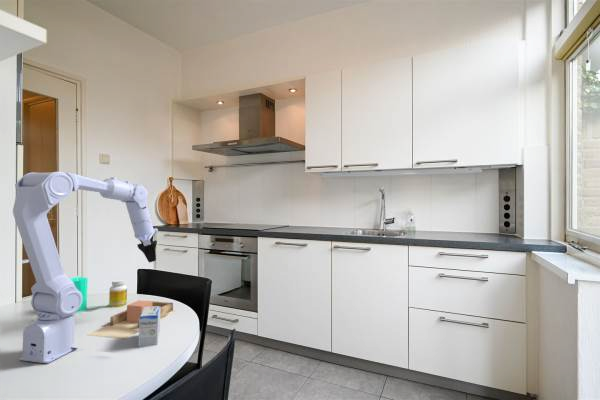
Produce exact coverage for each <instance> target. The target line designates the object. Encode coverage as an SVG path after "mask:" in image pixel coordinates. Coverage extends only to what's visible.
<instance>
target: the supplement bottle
mask: <svg viewBox="0 0 600 400" xmlns="http://www.w3.org/2000/svg"><path fill="white" fill-rule="evenodd" d="M111 285H112V286H111V287H109V295H108V298H109V299H108V306H109V308H120V307H125V306H127V299H128V297H127V296H128V295H127V294H128V287H127V285H126V279H125V278H119V279H113V280H112V281H111Z"/></svg>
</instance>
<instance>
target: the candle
mask: <svg viewBox="0 0 600 400" xmlns="http://www.w3.org/2000/svg"><path fill="white" fill-rule="evenodd" d="M69 279H70V280H72V281H73V282H74V284H75V287H76V289H77V290H79V291H80V292H81V294H82V296H83V301H82V304H81V306H80V308H79V309H78V310H77V311H76V313H78V312H79V313H80V312H82V311H85V310H87V307H88V306H87V305H88V277H83V276H78V274H76V277H71V278H69Z"/></svg>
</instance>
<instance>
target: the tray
mask: <svg viewBox="0 0 600 400" xmlns="http://www.w3.org/2000/svg"><path fill="white" fill-rule="evenodd" d="M151 301H152V300H151ZM152 306H160V307H161V312H160V320H162V319H163V318H164V319H165V318H166V317H167V316H169V315H171V314H173V313H174V312H175V309H174V303H173V302H169V301H168V302H165V301H154V300H153V301H152ZM126 321H127V309H125V310H123V311H120V312H118V313H116V314H113V315H112V316H110V323H109V324H107V325H104V326H103V327H100V328H99V329H96V330H94V331H92V332H90V333H87V336H92V337H93V336H94V337H104V338H112V339H121V340H123V339H124V340H127V339H129V338H131V337H132V336H134V335H135V334H139V319H138V323H133V322H126Z"/></svg>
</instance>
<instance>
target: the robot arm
mask: <svg viewBox="0 0 600 400" xmlns="http://www.w3.org/2000/svg"><path fill="white" fill-rule="evenodd" d="M14 187H15V190H16V195H15V199H14V204H13V208H12V214H13V217H14V221H15V223H16V226H17V229H18V232H19V235H20V238H21V240H22V244H23V246H24V250H25V252H26V255H27V258H28V261H29V264H30V267H31V270H32V274H33V275H34V278H35V283H34V285H32V286H31V288H30V290H31V293H32V295H31V299H30V304H31V307H32V309H33V310H34V311H36V316H37V319H36V320H35V321H34V322H32V323H30V324H29V325H27V326H26V327H25V329H24V330H23V334H22V353H21V355H22V356H20V357H19V361H25V362H32V363H33V362H34V363H39V364H40V363H41V364H42V363H43V364H49V363H51V362H53V361H56V360H57V359H60V358H62V357H63V356H65V355H68V354H69V353H71V352H73V351H75V350H77V349H78V347H73V346H74V344H75V320H76V319H75V317H76V314H77V312H76V311H77V310H78V309H79V308H80V306H81V304H82V301H83V296H82V294H81V292H80V291H79V290H77V289H76V287H75V284H74V282H73V281H72V280H70V278H69V277H68V276H67V275H66V274H65V270H64V268H63V264H62V261H61V258H60V254H59V252H58V247H57V246H56V242H55V239H54V235H53V232H52V230H51V225H50V222H49V220H48V216H47V214H48V213H49V212H50V211H51V209H52V208H53V207H55V206H56V205H57V204H59V203H60V202H62V201H63V200H64V199H66V198H67V197H68V196H70V195H71V193H72V192H77V190H81V191H87V192H88V191H89V192H95V193H99V194H100V196H101V197H102V198H105V199H110V200H116V201H120V202H122V203H125V206H126V209H127V212H128V216H129V219H130V222H131V226H132V229H133V233H134V235H133V236H134V237H135V239H137V240H138V241H140V243H138V244H137V248H138V250H140V251H141V252H142V253H143V255H144V256H145V258H146V260H147V262H148V263H153V262H156V260H157V254H156V248H157V245H158V241H157V240H154V236H155V233H157V232H159V229H158V228H157V227H155V228H154V226H153V223H152V219H151V215H150V212H149V208H148V204H149V202H148V196H149V191H148V190H147V189H146V187H144V185H142V184H141V183H140V184H137V183H136V184H133V183H131V181H129V180H128V181H127V180H126V181H121V180H118V178H117V177H110V178H105V179H103V180H99V179H95V178H91V177H87V176H83V175H80V174H78V173H77V174H76V173H73V172H63V171H53V172H36V171H35V172H34V171H33V172H29V173H25V174H24V175H22V177H21V178H20V179H19V180H18V181H17V182H16V183H15V184H14Z"/></svg>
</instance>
